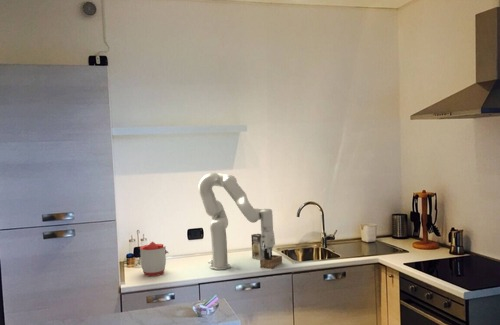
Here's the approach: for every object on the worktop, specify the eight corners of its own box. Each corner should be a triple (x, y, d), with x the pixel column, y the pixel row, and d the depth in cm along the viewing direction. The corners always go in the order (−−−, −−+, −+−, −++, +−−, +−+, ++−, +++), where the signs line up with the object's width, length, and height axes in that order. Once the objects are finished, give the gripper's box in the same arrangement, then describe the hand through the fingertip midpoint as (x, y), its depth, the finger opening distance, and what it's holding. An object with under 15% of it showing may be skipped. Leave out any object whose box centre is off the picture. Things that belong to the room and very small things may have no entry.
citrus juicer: (172, 274, 285) (170, 241, 284) (143, 278, 278) (141, 245, 277) (166, 268, 299) (164, 237, 298) (139, 272, 292) (137, 241, 292)
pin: (265, 263, 292) (264, 247, 291) (267, 262, 294) (267, 246, 294) (269, 263, 290) (268, 247, 290) (271, 262, 292) (271, 246, 292)
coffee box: (251, 258, 316) (250, 234, 316) (259, 256, 320) (258, 233, 319) (260, 260, 309) (259, 236, 308) (267, 258, 313) (266, 234, 312)
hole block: (260, 267, 291) (260, 259, 291) (271, 262, 303) (270, 254, 303) (271, 269, 287) (271, 260, 287) (282, 263, 299) (281, 255, 299)
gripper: (265, 231, 282) (267, 261, 283) (278, 226, 296) (279, 255, 297) (255, 230, 286) (256, 260, 287) (268, 226, 300) (269, 254, 301)
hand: (268, 257), depth 292 cm, fingers closed on pin, 3 cm apart
